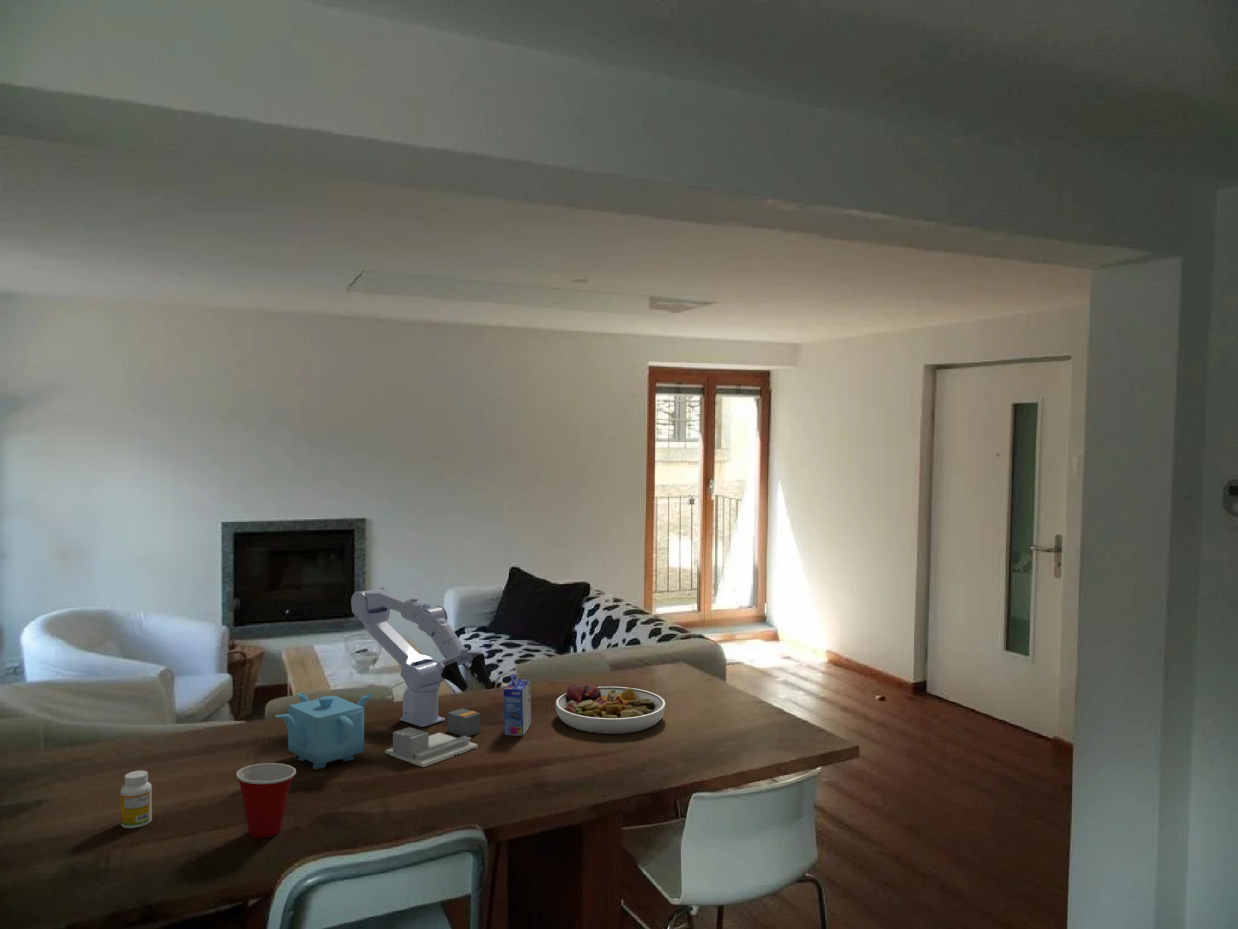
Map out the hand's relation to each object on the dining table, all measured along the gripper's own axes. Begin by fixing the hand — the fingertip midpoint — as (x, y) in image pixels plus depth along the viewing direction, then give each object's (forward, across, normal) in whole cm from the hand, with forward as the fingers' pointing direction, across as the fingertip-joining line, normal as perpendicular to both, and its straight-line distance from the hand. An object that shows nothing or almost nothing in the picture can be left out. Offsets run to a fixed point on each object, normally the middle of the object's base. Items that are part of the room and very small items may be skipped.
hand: (476, 685), depth 227 cm
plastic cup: (+14, -64, +3) cm, 66 cm away
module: (+5, 0, +13) cm, 14 cm away
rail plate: (+8, -14, +10) cm, 19 cm away
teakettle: (-4, -34, +20) cm, 40 cm away
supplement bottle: (-3, -78, +18) cm, 80 cm away
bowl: (+23, +33, -1) cm, 40 cm away
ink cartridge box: (+12, +10, +7) cm, 17 cm away
